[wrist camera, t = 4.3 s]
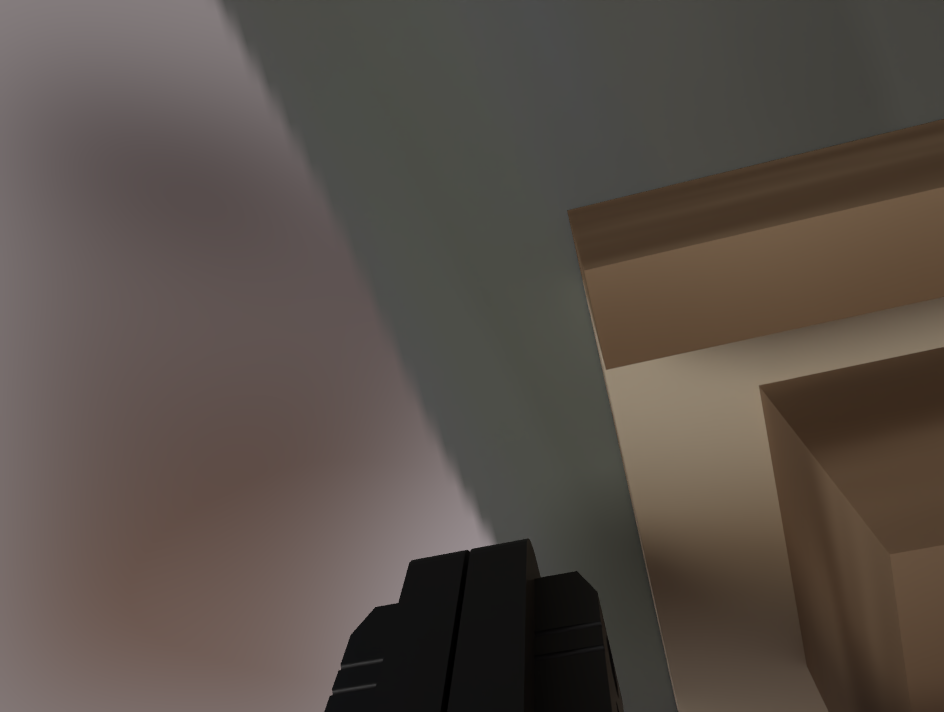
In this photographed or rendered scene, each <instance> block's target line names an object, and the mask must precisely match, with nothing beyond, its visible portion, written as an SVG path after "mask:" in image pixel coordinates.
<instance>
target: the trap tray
mask: <svg viewBox="0 0 944 712" xmlns="http://www.w3.org/2000/svg"><path fill="white" fill-rule="evenodd" d="M567 212H568V216H569V221H570V225H571V230H572V234H573V239H574V243H575V248H576V252H577V257H578V261H579V266H580V271H581V275H582V280H583V284H584V289H585V293H586V298H587V302H588V307H589V311H590V316H591V320H592V325H593V329H594V334H595V338H596V343H597V347H598V352H599V356H600V361H601V366H602V370H603V375H604V379H605V384H606V388H607V393H608V397H609V402H610V406H611V411H612V415H613V420H614V424H615V429H616V433H617V438H618V442H619V447H620V452H621V456H622V461H623V465H624V470H625V474H626V479H627V483H628V488H629V492H630V497H631V501H632V506H633V510H634V515H635V519H636V524H637V528H638V533H639V537H640V542H641V547H642V551H643V556H644V560H645V565H646V569H647V574H648V578H649V583H650V587H651V592H652V596H653V601H654V605H655V610H656V614H657V619H658V623H659V628H660V633H661V637H662V642H663V646H664V651H665V655H666V660H667V664H668V669H669V673H670V678H671V682H672V687H673V691H674V696H675V700H676V705H677V709H678V712H828V710H827V708H826V705H825V703H824V701H823V699H822V697H821V695H820V693H819V691H818V689H817V687H816V684H815V682H814V680H813V678H812V676H811V674H810V672H809V670H808V668H807V665H806V659H805V653H804V647H803V641H802V635H801V630H800V624H799V618H798V612H797V606H796V600H795V594H794V589H793V583H792V577H791V571H790V565H789V559H788V554H787V548H786V542H785V536H784V530H783V524H782V518H781V513H780V507H779V501H778V495H777V489H776V483H775V477H774V472H773V466H772V460H771V454H770V448H769V442H768V437H767V431H766V425H765V419H764V413H763V407H762V401H761V396H760V390H759V385H764V384H768V383H773V382H778V381H783V380H788V379H792V378H797V377H802V376H807V375H811V374H816V373H821V372H826V371H831V370H835V369H840V368H845V367H850V366H855V365H859V364H864V363H869V362H874V361H879V360H883V359H888V358H893V357H898V356H903V355H907V354H912V353H917V352H922V351H927V350H931V349H936V348H941V347H944V119H942V120H938V121H934V122H930V123H926V124H921V125H917V126H913V127H909V128H905V129H901V130H897V131H893V132H888V133H884V134H880V135H876V136H872V137H868V138H864V139H860V140H856V141H851V142H847V143H843V144H839V145H835V146H831V147H827V148H823V149H819V150H814V151H810V152H806V153H802V154H798V155H794V156H790V157H786V158H781V159H777V160H773V161H769V162H765V163H761V164H757V165H753V166H749V167H744V168H740V169H736V170H732V171H728V172H724V173H720V174H716V175H711V176H707V177H703V178H699V179H695V180H691V181H687V182H683V183H679V184H674V185H670V186H666V187H662V188H658V189H654V190H650V191H646V192H642V193H637V194H633V195H629V196H625V197H621V198H617V199H613V200H609V201H604V202H600V203H596V204H592V205H588V206H584V207H580V208H576V209H572V210H567Z"/></svg>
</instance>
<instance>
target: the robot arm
mask: <svg viewBox="0 0 944 712" xmlns="http://www.w3.org/2000/svg"><path fill="white" fill-rule="evenodd" d="M332 691H333V695H332V696H330V697H329V700H328V703H327V706H326V709H325V712H624V710H623V703H622V697H621V693H620V689H619V684H618V680H617V676H616V671H615V667H614V663H613V658H612V654H611V649H610V645H609V641H608V636H607V632H606V628H605V623H604V619H603V615H602V610H601V606H600V602H599V597H598V593H597V591H596V590H595V589H594V588H593V587H592V586H591V585H590V584H589V583H588V582H587V581H586V580H585V579H584V578H583V577H582V576H581V575H580V574H579V573H578V572H577V571H575V572H570V573H564V574H558V575H553V576H547V577H540V573H539V569H538V565H537V561H536V557H535V553H534V550H533V547H532V544H531V542H530V540H529V539H523V540H518V541H512V542H507V543H502V544H496V545H491V546H485V547H480V548H474V549H472V550H471V551H468V550H465V551H459V552H454V553H449V554H443V555H438V556H432V557H427V558H421V559H416V560H412V561H411V562H410V563H409V566H408V570H407V573H406V577H405V581H404V584H403V588H402V592H401V595H400V599H399V603H396V604H391V605H385V606H379V607H375V608H374V609H373V611H372V612H371V613H370V614H369V615H368V616H367V617H366V618H365V620H364V621H363V622H362V623H361V624H360V625H359V626H358V627H357V629H356V630H355V631H354V632H353V634H351V636H350V639H349V642H348V645H347V648H346V650H345V653H344V656H343V659H342V662H341V670H339V671H338V674H337V677H336V680H335V682H334V685H333V688H332Z"/></svg>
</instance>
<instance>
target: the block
mask: <svg viewBox="0 0 944 712" xmlns="http://www.w3.org/2000/svg"><path fill="white" fill-rule="evenodd" d="M759 390H760V396H761V401H762V407H763V413H764V419H765V425H766V431H767V437H768V442H769V448H770V454H771V460H772V466H773V472H774V477H775V483H776V489H777V495H778V501H779V507H780V513H781V518H782V524H783V530H784V536H785V542H786V548H787V554H788V559H789V565H790V571H791V577H792V583H793V589H794V594H795V600H796V606H797V612H798V618H799V624H800V630H801V635H802V641H803V647H804V653H805V659H806V665H807V668H808V670H809V672H810V674H811V676H812V678H813V680H814V682H815V684H816V687H817V689H818V691H819V693H820V695H821V697H822V699H823V701H824V703H825V705H826V708H827V710H828V712H944V347H941V348H936V349H931V350H927V351H922V352H917V353H912V354H907V355H903V356H898V357H893V358H888V359H883V360H879V361H874V362H869V363H864V364H859V365H855V366H850V367H845V368H840V369H835V370H831V371H826V372H821V373H816V374H811V375H807V376H802V377H797V378H792V379H788V380H783V381H778V382H773V383H768V384H764V385H759Z"/></svg>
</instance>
